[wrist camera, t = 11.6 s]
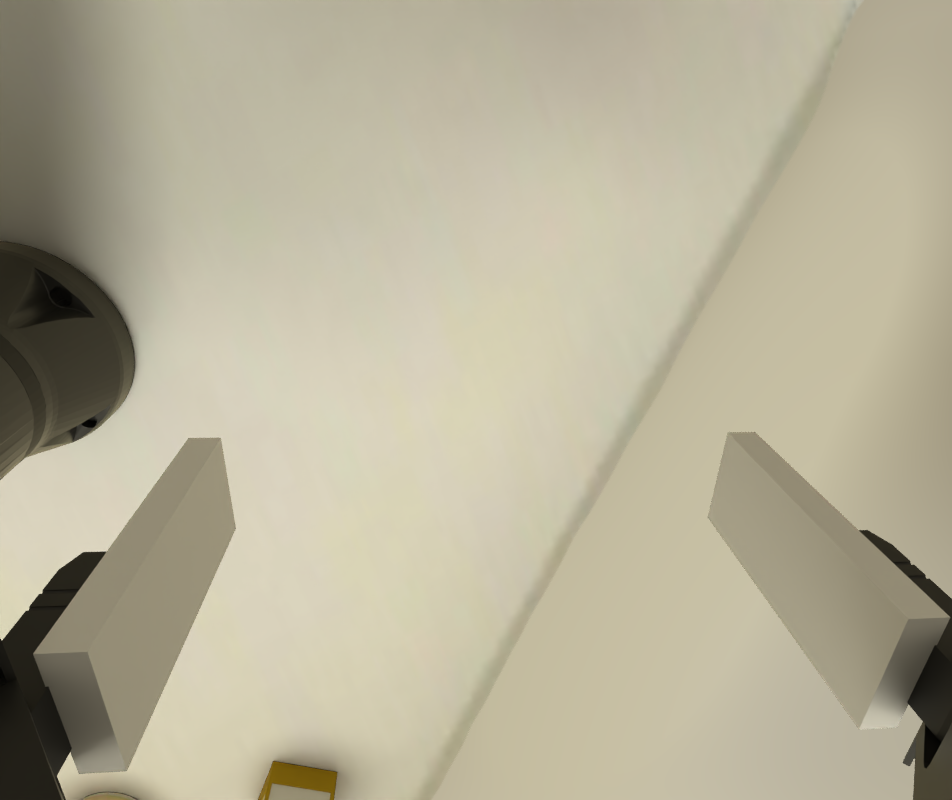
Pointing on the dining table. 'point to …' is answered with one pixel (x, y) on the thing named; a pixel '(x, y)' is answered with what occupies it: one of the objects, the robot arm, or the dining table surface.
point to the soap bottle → (298, 783)
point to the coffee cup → (108, 796)
